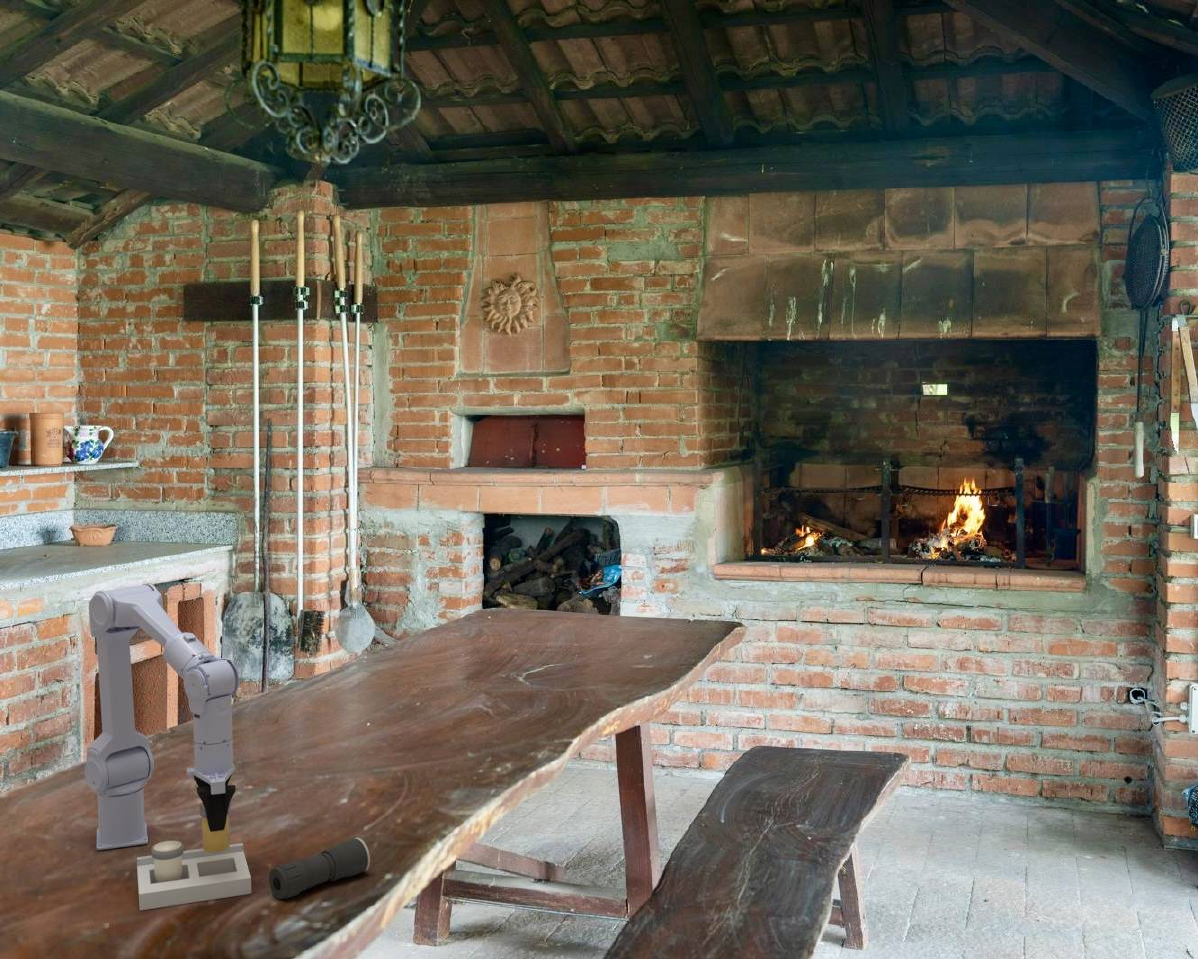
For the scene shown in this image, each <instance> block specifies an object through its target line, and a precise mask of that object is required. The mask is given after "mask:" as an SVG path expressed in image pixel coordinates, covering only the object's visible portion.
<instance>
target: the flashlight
mask: <svg viewBox="0 0 1198 959" xmlns="http://www.w3.org/2000/svg"><path fill="white" fill-rule="evenodd" d="M370 863H371V856H370V852H369V848H368V846H367V844H366V842H365V841H364V840H363V839H362V838H360V837H355V838H351V839H349V840H346V841H343V842H339V843H338V844H336V845H335V846H333V847H330V848H327V849H324V850H322V852H321V854H320V853H319V854H316V855H313V856H311V857H307V858H302V859H299V860H295V861H290V860H289V861H286V862H283V863H280V864H277V865H276V866H274V868H271V870H270V871H269V876H268V881H269V882H268V883H269V886H270V890H271V892H272V894H273V895H274V897H275V898H277V899H279V900H281V899H284V900H288V899H290V898H293V897H296V896H298V895H300V894H301V892H304V891H306V890H309V889H311V888H313V887H314V886H317V885H320V884H323V883H325V882H326V883H327V881H329V882H335V881H338V880H341V879H342V878H352V877H354V876H357V875H360V874H363V873H365V872H367V871H368V870H369V868H370V865H371V864H370Z"/></svg>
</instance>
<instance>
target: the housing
mask: <svg viewBox="0 0 1198 959" xmlns="http://www.w3.org/2000/svg"><path fill="white" fill-rule="evenodd" d="M136 872H137V874H136V875H137V889H138V890H137V892H138V905H139V908H138V909H139V911H146V910H151V909H152V910H153V909H157V908H165V907H173V906H179V905H184V904H185V905H186V904H191V903H197V902H198V903H199V902H204V901H205V902H206V901H211V900H216V899H217V900H218V899H225V898H230V897H238V896H245V895H251V894H252V877H251V873H250V869H249V867H248V863H247V859H246V855H245V852H244V843H243V842H240V843H233V844H230V847H229V848H228V849H227V850H225V851H222V852H217V853H208V852H205V851H203V847H202V848H197V849H196V848H195V849H188V850H184V852H183V854H182V880H175V881H168V882H161V883H155V873H154V858H152V854H151V855H146V856H139V857H138V856H137V857H136Z"/></svg>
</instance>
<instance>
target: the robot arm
mask: <svg viewBox="0 0 1198 959" xmlns="http://www.w3.org/2000/svg"><path fill="white" fill-rule="evenodd" d="M88 615H89V616H88V617H89V629H90V636H91V637H92V638H96V648H97V650H96V652H97V668H98V682H99V684H98V685H99V696H100V697H99V698H100V699H99V700H100V713H101V728H102V731H101V733H100V734H99V736H98V737H97V738H95V740H93V741H92V743H90V744H89V745H88V746H87V748H86V762H85V764H84V765H85V767H84V778H85V781H86V783H87V786H88V787H89V789H90V790H91V791H93V792H94V793H95V794H97V813H98V814H97V815H98V816H97V817H98V828H96V850H97V851H102V850H103V851H104V850H110V849H118V848H119V849H120V848H125V847H132V846H141V845H146V844H148V843H149V839H148V828H147V822H146V821H145V805H144V804H145V800H144V787H146V786H148V780H149V779H151V777H152V776H153V773H154V770H155V761H154V755H153V753H152V751H151V746H150V739H149V738H148V737H147V736H146V735H145V734H143V733H140V732H138V731H137V730H136V725H135V710H134V708H135V706H134V691H133V675H132V674H133V672H132V660H131V658H132V657H131V644H130V640H131V638H133V637H134V635H136V633H137V631H138V630H140V629H141V630H143V631H144V632H145V633H146V634H147V635H148V636H149V637H151V638H152V639H153V640H154V641H155V642H156V643H158V644H159V645H160V646H161V647H162V648H163V655H162V656H163V659H164V660H165V662H166V663H167V664H168V665H169V666H170V667H171V669H172V670H174V672H176V674H177V675H178V676H179V677H180V678H181V680H183V686H184V687H183V689H184V692H185V695H186V697H187V699H188V709H189V711H190V713H192V719H193V721H192V722H193V723H192V724H193V725H192V726H193V730H192V731H193V757H194V760H193V762H194V766H193V767H192V766H191V767H187V768H186V775H187V776H189V777H190V776H193V779H194V782H195V783H196V785H197V786H196V794H197V795H198V797H199V799H200V801H201V803H203V805H204V808H205V811H206V817H207V822H208V826H209V829H210V832H214V831H221V830H224V828H225V825H226V819H227V813H228V808H229V804H230V803H231V800H232V799H233V796H234V795H235V792H236V791H237V790H236V789H237V788H236V784H231V785H228V784H229V783H230V780H231V778H232V776H233V773H234V772H235V769H236V767H235V765H236V764H234V750H233V749H234V745H233V744H234V741H233V705H232V700H233V698H232V695H234V694H236V693H237V692H238V690H239V686H240V675H239V671H238V668H237V666H236V665H235V664H234V662H233V661H232V659H230V658H228V657H224V658H222V657H221V656H220V655H219V656H215V654H213V653H212V652H211V651H210V650H209V649H208V648H207V647H206V646H205V645H204V644H203V642H201V641H200V640H199V638H197V636H196V635H195V634H194V633H193V632H182V631H181V630H180V628H179V627H178V626H177V625H176V624H175V622H174V621H173V620H172V618H171V617H170V616H169V615H168V613H167V612H166V610H164V602H163V596H162V593H160V591H159V590H158V589H157V587H156V586H155V585H154V584H152V583H144V584H141V585H136V586H135V585H133V586H128V587H122V588H115V589H108V590H98V591H96V592H95V593H94V594H93V596H91V598H90V600H89V601H88Z"/></svg>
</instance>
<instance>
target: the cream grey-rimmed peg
mask: <svg viewBox="0 0 1198 959" xmlns="http://www.w3.org/2000/svg"><path fill="white" fill-rule="evenodd" d="M184 851H185V849H184V843H183V842H182V841H180V840H165V841H160V842H157V843H156V844H153V845H152V847H151V855H152V858H154V873H155V883H161V882H168V881H175V880H182V854H183V852H184Z"/></svg>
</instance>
